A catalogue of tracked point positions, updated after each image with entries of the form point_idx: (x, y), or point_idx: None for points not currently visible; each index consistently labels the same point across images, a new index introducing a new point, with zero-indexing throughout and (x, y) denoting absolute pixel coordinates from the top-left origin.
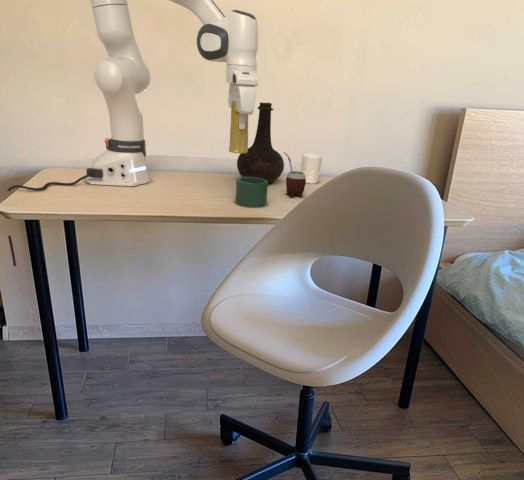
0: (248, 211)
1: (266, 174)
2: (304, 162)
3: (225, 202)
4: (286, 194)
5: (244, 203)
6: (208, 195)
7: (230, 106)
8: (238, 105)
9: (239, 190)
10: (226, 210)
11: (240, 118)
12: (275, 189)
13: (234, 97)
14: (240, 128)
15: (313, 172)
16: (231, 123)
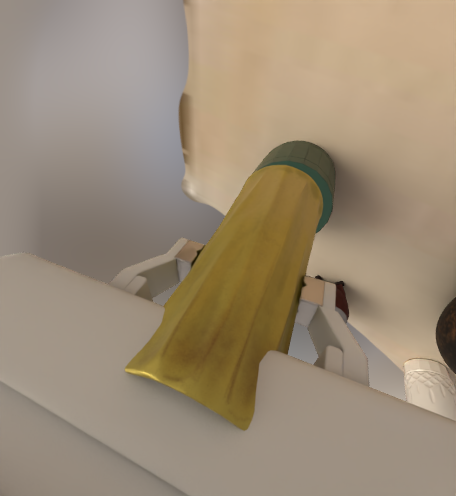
0: (232, 145)
1: (447, 309)
2: (436, 400)
3: (323, 112)
4: (341, 281)
5: (268, 154)
6: (440, 73)
7: (413, 419)
8: (36, 307)
9: (277, 154)
10: (244, 87)
11: (134, 267)
12: (398, 288)
13: (164, 453)
14: (181, 241)
15: (407, 382)
16: (242, 240)
